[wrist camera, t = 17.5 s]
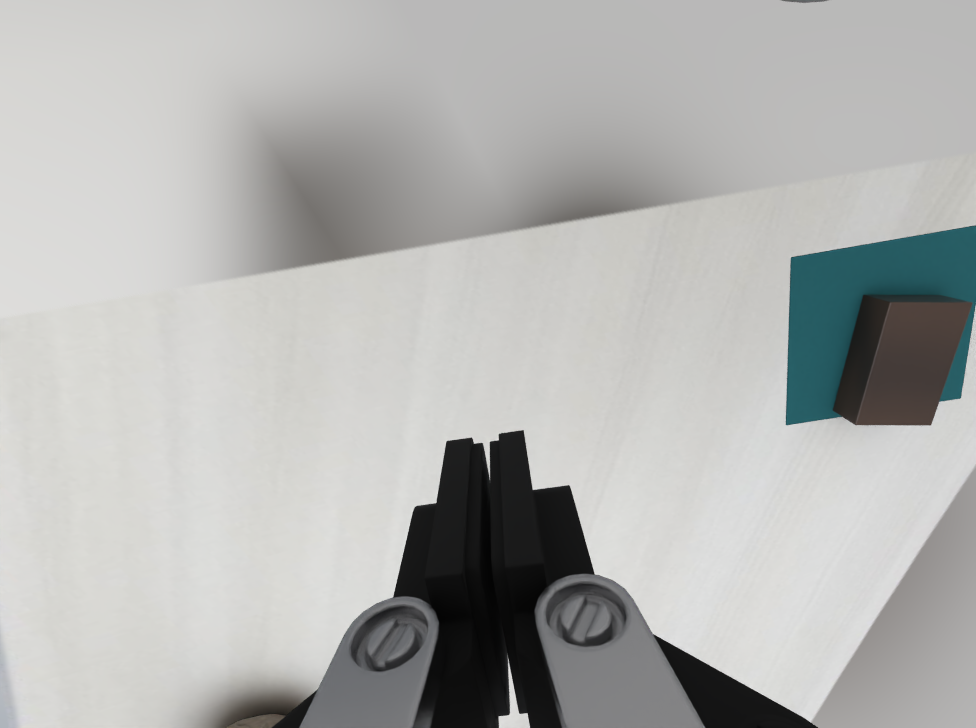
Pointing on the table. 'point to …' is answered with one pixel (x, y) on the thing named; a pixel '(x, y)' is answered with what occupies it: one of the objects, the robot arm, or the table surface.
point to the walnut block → (900, 358)
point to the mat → (838, 295)
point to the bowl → (258, 721)
